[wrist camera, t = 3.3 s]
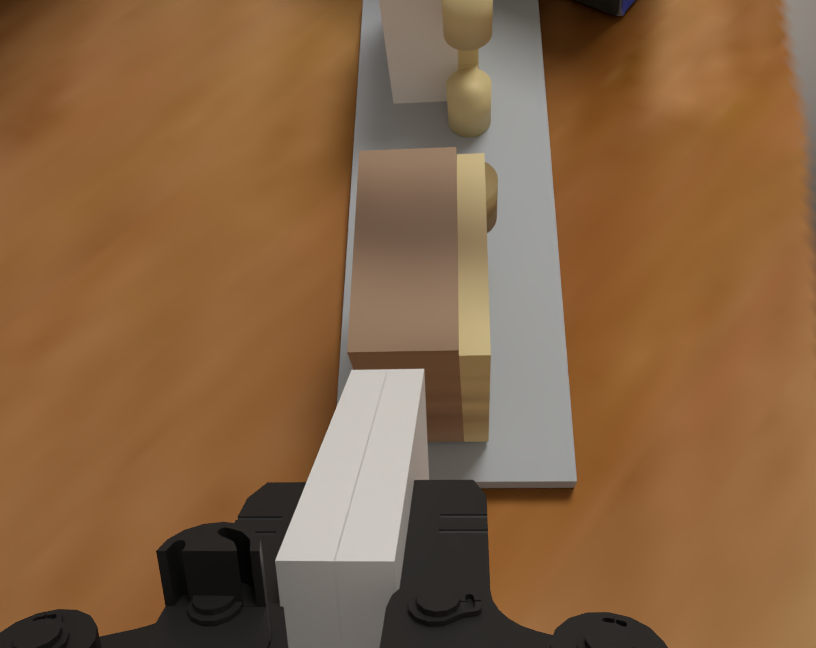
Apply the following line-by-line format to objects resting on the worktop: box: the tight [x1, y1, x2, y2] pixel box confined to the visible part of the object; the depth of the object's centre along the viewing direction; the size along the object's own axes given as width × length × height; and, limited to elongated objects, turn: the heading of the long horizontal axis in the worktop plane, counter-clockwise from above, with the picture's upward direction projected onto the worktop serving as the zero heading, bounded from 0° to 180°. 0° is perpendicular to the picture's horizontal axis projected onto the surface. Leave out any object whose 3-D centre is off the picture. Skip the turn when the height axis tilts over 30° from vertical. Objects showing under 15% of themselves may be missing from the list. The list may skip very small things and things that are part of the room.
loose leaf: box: [347, 147, 498, 442], centre depth 30 cm, size 10×5×9 cm, turn 179°
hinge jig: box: [337, 0, 577, 488], centre depth 35 cm, size 29×10×10 cm, turn 179°
